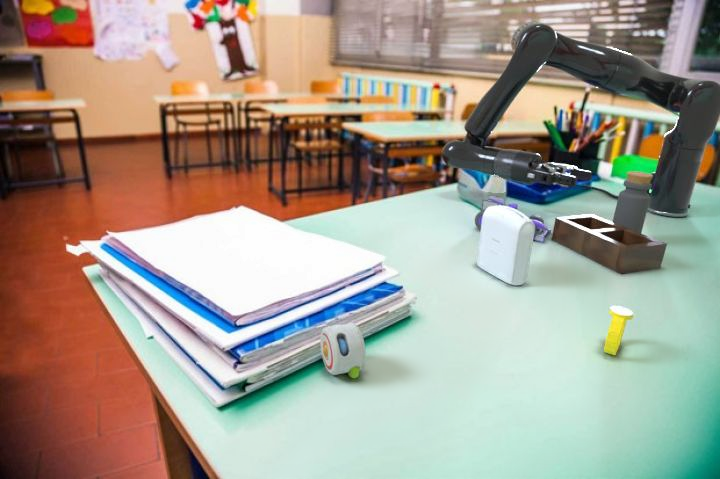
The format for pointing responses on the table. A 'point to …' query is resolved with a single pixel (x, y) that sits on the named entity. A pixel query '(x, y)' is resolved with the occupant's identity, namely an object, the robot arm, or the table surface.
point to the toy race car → (501, 201)
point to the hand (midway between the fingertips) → (583, 179)
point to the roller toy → (343, 349)
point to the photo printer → (506, 244)
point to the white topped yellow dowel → (616, 328)
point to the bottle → (633, 201)
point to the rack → (609, 243)
